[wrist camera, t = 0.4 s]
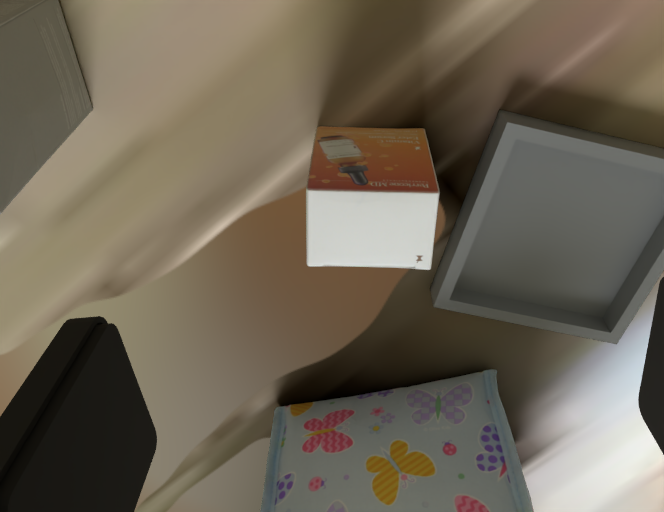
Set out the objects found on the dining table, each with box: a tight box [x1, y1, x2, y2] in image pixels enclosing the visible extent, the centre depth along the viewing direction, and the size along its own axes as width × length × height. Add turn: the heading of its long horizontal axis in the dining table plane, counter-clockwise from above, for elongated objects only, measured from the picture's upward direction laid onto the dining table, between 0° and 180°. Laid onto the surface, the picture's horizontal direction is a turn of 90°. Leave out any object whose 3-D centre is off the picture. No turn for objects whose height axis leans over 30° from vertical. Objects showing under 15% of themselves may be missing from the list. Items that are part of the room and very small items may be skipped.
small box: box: [306, 126, 440, 270], centre depth 40 cm, size 8×6×10 cm
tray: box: [430, 110, 664, 344], centre depth 46 cm, size 16×16×3 cm
